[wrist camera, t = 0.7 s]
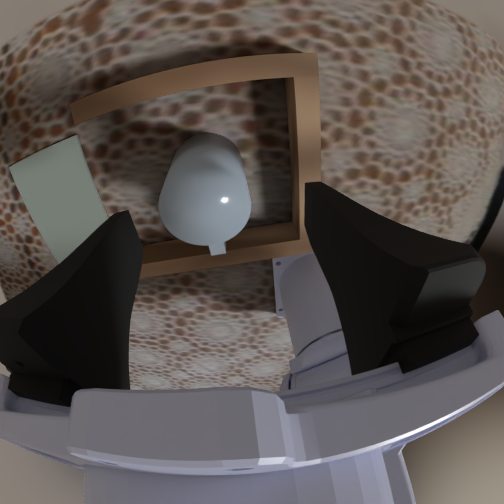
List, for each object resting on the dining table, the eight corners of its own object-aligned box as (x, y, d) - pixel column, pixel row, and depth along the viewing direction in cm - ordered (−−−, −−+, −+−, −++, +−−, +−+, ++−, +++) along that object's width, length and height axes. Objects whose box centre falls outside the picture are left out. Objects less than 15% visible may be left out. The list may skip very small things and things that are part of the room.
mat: (127, 257, 24) (126, 258, 23) (63, 268, 23) (62, 270, 23) (77, 134, 16) (76, 135, 16) (10, 166, 16) (8, 167, 15)
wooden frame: (309, 232, 24) (317, 251, 22) (143, 259, 24) (138, 278, 22) (304, 53, 14) (317, 53, 12) (85, 97, 14) (68, 104, 12)
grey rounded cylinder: (248, 210, 22) (258, 261, 18) (187, 220, 22) (181, 273, 17) (237, 127, 18) (245, 158, 13) (165, 140, 17) (147, 177, 13)
